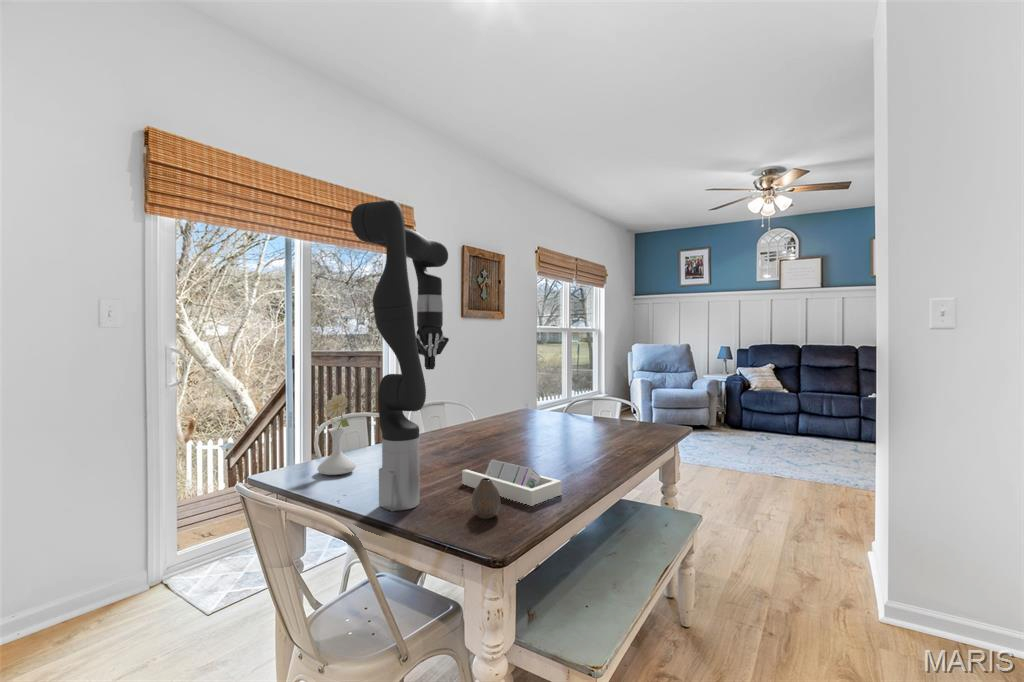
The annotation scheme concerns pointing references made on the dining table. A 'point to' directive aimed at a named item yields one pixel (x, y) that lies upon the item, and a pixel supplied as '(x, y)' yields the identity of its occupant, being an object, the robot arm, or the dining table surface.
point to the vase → (486, 499)
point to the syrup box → (513, 473)
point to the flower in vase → (336, 440)
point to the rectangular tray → (517, 488)
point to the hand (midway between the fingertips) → (429, 369)
